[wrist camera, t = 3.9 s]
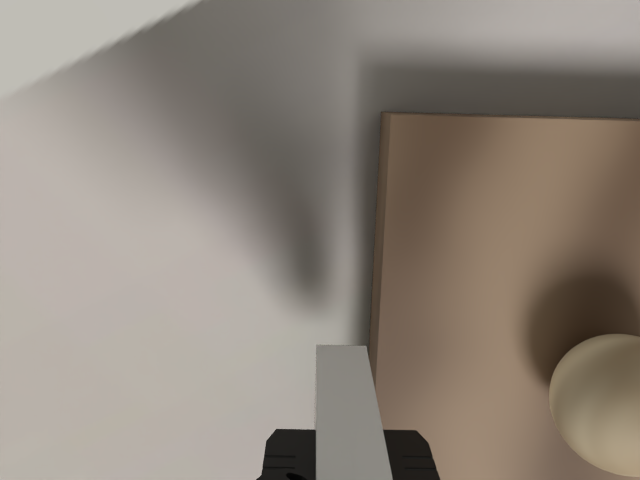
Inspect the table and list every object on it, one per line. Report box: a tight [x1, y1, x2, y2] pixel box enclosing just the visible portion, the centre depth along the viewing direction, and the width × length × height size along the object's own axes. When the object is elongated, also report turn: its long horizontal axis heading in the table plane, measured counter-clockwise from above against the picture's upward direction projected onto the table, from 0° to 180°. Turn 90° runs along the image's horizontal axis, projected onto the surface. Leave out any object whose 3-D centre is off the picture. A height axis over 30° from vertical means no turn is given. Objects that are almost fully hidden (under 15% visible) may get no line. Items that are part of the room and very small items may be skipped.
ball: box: [549, 334, 640, 477], centre depth 17 cm, size 4×4×4 cm
